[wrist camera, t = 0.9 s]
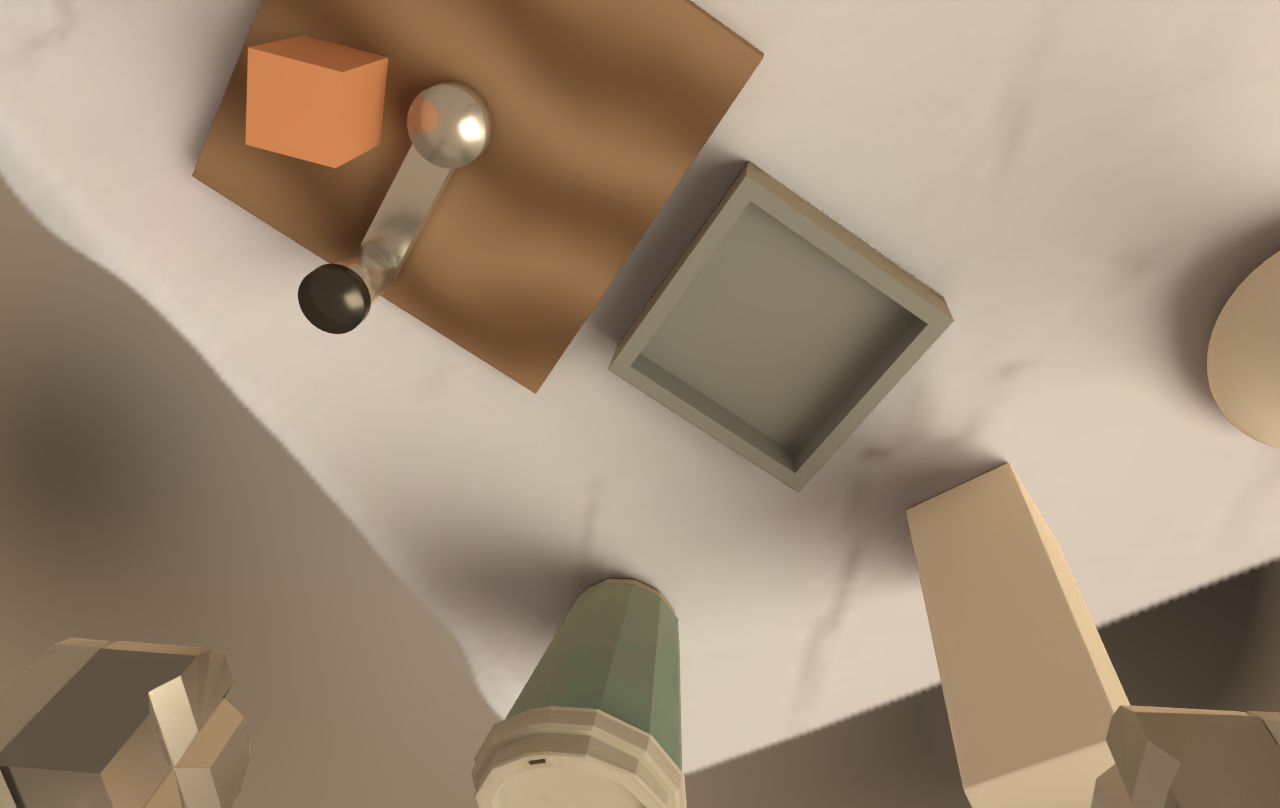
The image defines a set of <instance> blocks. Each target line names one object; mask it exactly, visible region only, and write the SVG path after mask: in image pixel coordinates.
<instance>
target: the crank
mask: <svg viewBox="0 0 1280 808" xmlns="http://www.w3.org/2000/svg"><path fill="white" fill-rule="evenodd" d="M407 128H408V133H409V137H410V139H411V142H412V146H411V148H410V150H409V151H408V153H407V155H406V157H405V159H404V161H403V163H402V165H401V167H400V169H399V171H398V173H397V175H396V177H395V179H394V181H393V183H392V185H391V187H390V189H389V190H388V192H387V194H386V196H385V198H384V200H383V202H382V204H381V206H380V208H379V210H378V212H377V214H376V216H375V218H374V220H373V222H372V224H371V226H370V228H369V229H368V231H367V233H366V235H365V237H364V239H363V241H362V243H361V245H359V246H358V247H356V248H355V249H354V250H352V251H351V252H350V253H348V254H347V255H346V256H344V257H343V258H342V259H340V260H339V261H338V262H336V263H335V264H325V265H322V266H320V267H318V268H316V269H315V270H314V271H312V272H311V273H309V274H308V275H307V276H306V277H305V278H304V279H303V280H302V282H301V284H300V286H299V290H298V300H299V304H300V307H301V310H302V312H303V313H304V315H305V316H306V318H307V319H308V320H309V321H310V322H311V323H312V324H313V325H314V326H316V327H317V328H319V329H321V330H323V331H325V332H328V333H333V334H342V333H347V332H349V331H351V330H353V329H354V328H355V327H357V326H358V325H359V324H360V323H361V322H362V321H363V320H364V319H365V318H366V316H367V315H368V313H369V310H370V306H371V303H373V302H374V301H375V300H376V299H377V298H378V297H379V296H380V295H381V294H382V295H383V294H384V293H385V292H386V291H387V290H388V289H389V288H390V287H391V286H392V284H393V283H394V281H395V279H396V277H397V275H398V273H399V272H400V270H401V268H402V266H403V264H404V262H405V261H406V259H407V257H408V255H409V253H410V251H411V250H412V248H413V246H414V244H415V242H416V240H417V239H418V237H419V235H420V233H421V231H422V229H423V228H424V226H425V224H426V222H427V220H428V218H429V217H430V215H431V213H432V211H433V209H434V207H435V206H436V204H437V202H438V200H439V198H440V196H441V195H442V193H443V191H444V189H445V187H446V185H447V184H448V182H449V180H450V178H451V176H452V174H453V173H454V171H455V169H456V168H459V167H463V166H465V165H467V164H469V163H470V162H472V161H473V160H475V159H476V158H477V157H479V156H480V155H481V154H482V153H483V152H484V151H485V150H486V149H487V148H488V146H489V144H490V142H491V140H492V137H493V132H494V119H493V115H492V112H491V109H490V107H489V105H488V103H487V101H486V100H485V98H484V97H483V96H482V95H481V94H480V93H479V92H478V91H477V90H475V89H474V88H473V87H471V86H469V85H467V84H465V83H461V82H456V81H447V82H442V83H439V84H437V85H435V86H432V87H430V88H428V89H426V90H424V91H422V92H421V93H420V94H419V95H418V96H417V97H416V98H415V99H414V100H413V102H412V104H411V106H410V108H409V112H408V117H407Z"/></svg>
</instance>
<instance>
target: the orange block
mask: <svg viewBox="0 0 1280 808" xmlns="http://www.w3.org/2000/svg"><path fill="white" fill-rule="evenodd" d="M387 66H388V57H385V56H381V55H378V54H374V53H370V52H366V51H362V50H358V49H355V48H351V47H347V46H343V45H339V44H336V43H332V42H328V41H324V40H320V39H316V38H313V37H309V36H305V35H302V36H297V37H293V38H288V39H284V40H279V41H275V42H270V43H266V44H261V45H257V46H253V47H248V67H247V105H246V143H245V144H246V145H249V146H253V147H257V148H261V149H265V150H268V151H272V152H276V153H280V154H283V155H287V156H291V157H295V158H299V159H302V160H306V161H310V162H314V163H317V164H321V165H325V166H329V167H333V168H337V167H339V166H341V165H343V164H345V163H346V162H348V161H350V160H352V159H354V158H356V157H358V156H359V155H361V154H363V153H365V152H367V151H369V150H371V149H373V148H374V147H376V146H378V145H380V141H381V130H382V119H383V109H384V98H385V87H386V77H387Z"/></svg>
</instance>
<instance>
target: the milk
mask: <svg viewBox="0 0 1280 808" xmlns="http://www.w3.org/2000/svg"><path fill="white" fill-rule="evenodd" d="M906 514H907V519H908V524H909V529H910V533H911V538H912V543H913V548H914V553H915V558H916V562H917V567H918V572H919V577H920V582H921V587H922V591H923V596H924V601H925V606H926V611H927V615H928V620H929V625H930V630H931V635H932V640H933V644H934V649H935V654H936V659H937V664H938V669H939V673H940V678H941V683H942V688H943V692H944V697H945V702H946V707H947V711H948V717H949V722H950V726H951V731H952V736H953V741H954V746H955V750H956V755H957V760H958V765H959V770H960V774H961V779H962V784H963V789H964V792H965V794H966V796H967V798H968V800H969V802H970V804H971V806H972V808H1091V803H1092V798H1093V793H1094V788H1095V782H1096V778H1097V777H1099V776H1100V775H1101V774H1103V773H1104V772H1105V771H1107V770H1108V769H1109V768H1110V767H1112V766H1113V765H1114V764H1115V761H1114V759H1113V756H1112V754H1111V752H1110V749H1109V747H1108V744H1107V742H1106V736H1107V733H1108V729H1109V725H1110V721H1111V717H1112V716H1113V714H1114V713H1115V712H1116V710H1117V709H1118V707H1119V706H1120V705H1127V706H1130V704H1129V701H1128V699H1127V697H1126V695H1125V693H1124V690H1123V688H1122V686H1121V683H1120V681H1119V679H1118V677H1117V675H1116V672H1115V670H1114V668H1113V665H1112V663H1111V661H1110V659H1109V656H1108V654H1107V652H1106V650H1105V648H1104V645H1103V643H1102V641H1101V638H1100V636H1099V634H1098V632H1097V629H1096V627H1095V625H1094V623H1093V620H1092V618H1091V616H1090V614H1089V611H1088V609H1087V607H1086V605H1085V602H1084V600H1083V598H1082V596H1081V593H1080V591H1079V589H1078V587H1077V584H1076V582H1075V580H1074V577H1073V575H1072V573H1071V571H1070V568H1069V566H1068V564H1067V562H1066V559H1065V557H1064V555H1063V553H1062V550H1061V548H1060V546H1059V544H1058V542H1057V541H1056V539H1055V537H1054V536H1053V534H1052V532H1051V531H1050V529H1049V527H1048V526H1047V524H1046V522H1045V521H1044V519H1043V517H1042V516H1041V514H1040V512H1039V511H1038V509H1037V508H1036V506H1035V504H1034V503H1033V501H1032V499H1031V498H1030V496H1029V494H1028V493H1027V491H1026V489H1025V488H1024V486H1023V484H1022V483H1021V481H1020V479H1019V478H1018V476H1017V475H1016V473H1015V471H1014V470H1013V468H1012V466H1011V465H1010V464H1009V463H1007V464H1004V465H1002V466H1000V467H998V468H996V469H994V470H991V471H989V472H987V473H985V474H983V475H981V476H978V477H976V478H974V479H972V480H970V481H968V482H966V483H963V484H961V485H959V486H957V487H955V488H953V489H950V490H948V491H946V492H944V493H942V494H940V495H938V496H935V497H933V498H931V499H929V500H927V501H925V502H922V503H920V504H918V505H916V506H914V507H912V508H910V509H908V510H906Z"/></svg>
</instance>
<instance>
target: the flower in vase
mask: <svg viewBox="0 0 1280 808" xmlns="http://www.w3.org/2000/svg"><path fill="white" fill-rule="evenodd" d="M1207 376H1208V381H1209V386H1210V390H1211V392H1212V395H1213V397H1214V400H1215V402H1216V403H1217V405H1218V407H1219V408H1220V410H1221V412H1222V413H1223V414H1224V415H1225V417H1226V418H1227V419H1228V420H1229V421H1230V422H1231V423H1232V424H1233V425H1234V426H1235V427H1236V428H1238V429H1239V430H1240V431H1241V432H1243V433H1244V434H1246V435H1248V436H1249V437H1251V438H1253V439H1254V440H1256V441H1259V442H1261V443H1263V444H1266V445H1268V446H1272V447H1275V448H1279V449H1280V251H1278V252H1277V253H1276V254H1274V255H1273V256H1271V257H1270V258H1268V259H1267V260H1266V261H1264V262H1263V263H1262V264H1261V265H1260V266H1259V267H1257V268H1256V269H1255V270H1254V271H1253V272H1252V273H1251V274H1250V275H1249V276H1248V277H1247V278H1246V279H1245V280H1244V281H1243V282H1242V283H1241V284H1240V285H1239V286H1238V288H1237V289H1236V290H1235V292H1234V293H1233V294H1232V296H1231V297H1230V298H1229V300H1228V301H1227V303H1226V304H1225V306H1224V308H1223V309H1222V311H1221V313H1220V315H1219V317H1218V319H1217V321H1216V324H1215V326H1214V328H1213V331H1212V334H1211V338H1210V342H1209V345H1208V353H1207Z"/></svg>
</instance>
